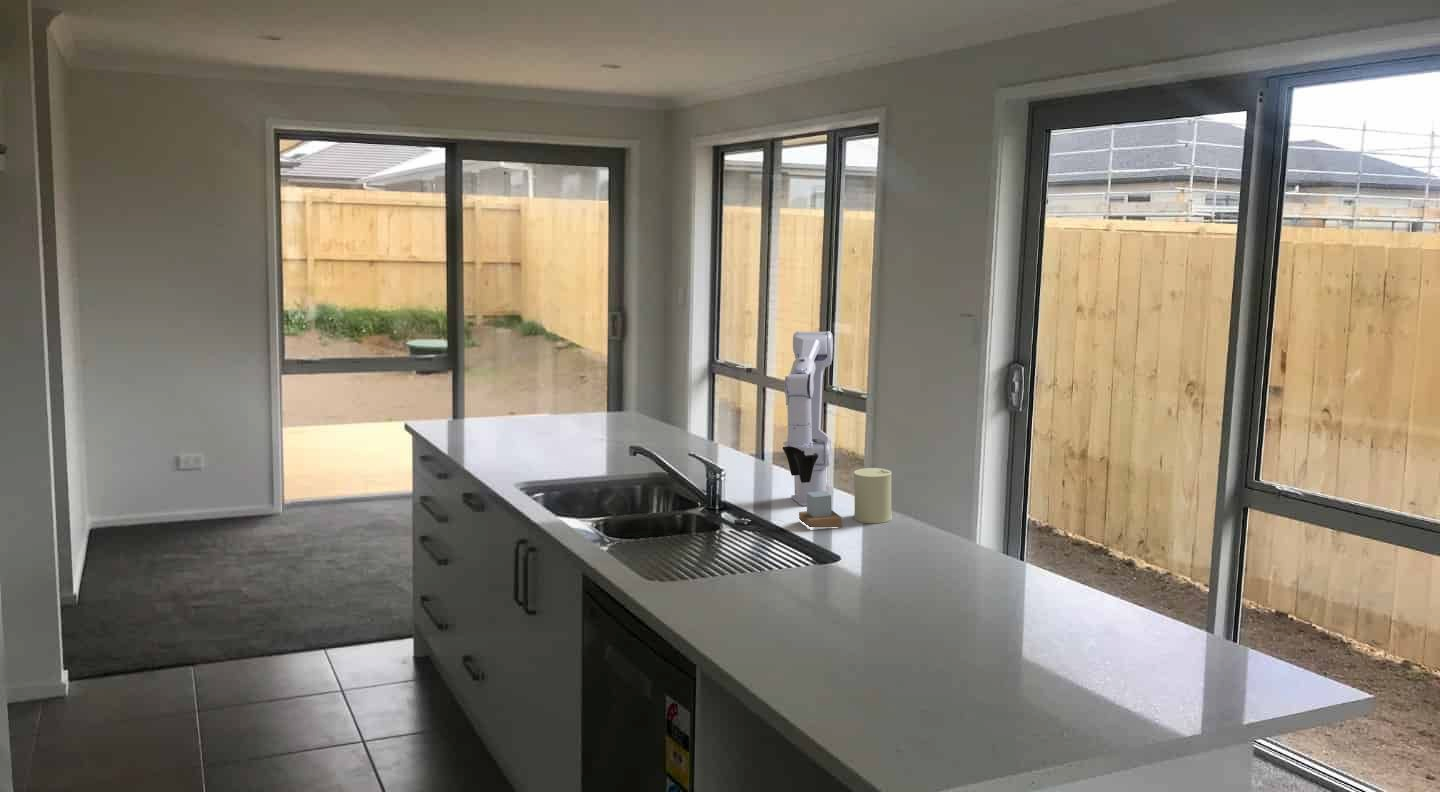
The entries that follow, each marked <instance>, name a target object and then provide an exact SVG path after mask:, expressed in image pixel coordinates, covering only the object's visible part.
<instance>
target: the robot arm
mask: <svg viewBox="0 0 1440 792" xmlns="http://www.w3.org/2000/svg"><path fill="white" fill-rule="evenodd" d="M833 339H834V335H833V333H832V332H831V331H830V330H828V331H799V330H798V331H797V330H796V331H795V332H794V333H793V336H792V351H793V353H794V358H795V359H794V361H793V362H792V366H791V368H790V373H789V374H788V375H787V376H785V377H784V383H783V384H784V385H783V386H784V387H783V388H784V389H783V390H784V396H785V405H786V406H787V407H786V408H787V436H786V439H787V440H786V441H782V444H783V447H782V450H783V452H784V454H785V456H786V458H787V463H788V467H789V471H790V474H791V476H792V477H794V480H793V481H794V494H792V495H791V496H790V497H791V499H793V500H794V501H796V503H798V504H799V505H800V506H802V507H803V506H807V493H809V492H819V491H825V492H826V491H827V489H826V488H827V487H826V486H827V485H826V483H827V482H826V468H828V467H829V466H830V465H831V461H832V446H831V443H832V441H831V438H830V436H829V435H828V434H827V433H825V432H824V431H823V430H822V429H821V428H822V426H821V425H822V403H823V382H824V381H823V380H824V379H823V377H824V373H825V370H826V368H827V367H830V366H831V365H832V361H833V352H834V351H833V350H834V348H833V347H834V340H833Z"/></svg>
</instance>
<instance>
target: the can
mask: <svg viewBox="0 0 1440 792" xmlns="http://www.w3.org/2000/svg"><path fill="white" fill-rule="evenodd" d="M853 478H854V481H853V483H854V487H853V488H854V491H853V492H854V515H853V519H854V520H855V521H856V522H860V523H863V524H883V523H887V522H890V521H892V519H893V514H892V471H891V470H889V469H887V468H883V467H882V468H881V467H880V468H879V467H865V468H859V469H856V470H854V471H853Z"/></svg>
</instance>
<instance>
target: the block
mask: <svg viewBox="0 0 1440 792" xmlns="http://www.w3.org/2000/svg"><path fill="white" fill-rule="evenodd" d="M831 510H832V494H830V493H829V492H825V491H819V492H809V493H807V505H806V511H807V513H808V514H809V515H811V516H812V517H814V518H815V517H824V516H832V515H831Z"/></svg>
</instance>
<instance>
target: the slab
mask: <svg viewBox="0 0 1440 792" xmlns="http://www.w3.org/2000/svg"><path fill="white" fill-rule="evenodd" d="M831 515H832V516H824V517H815V518H814V517H812V516H811V515H809V514H808V513H807V510H806V511H799V512H798V520H799V519H800V520H801V521H802V522H804V523H805V524H806V525H808V526H809V527H842V528H843V517H842V516H841V515H840V514H838V513H836V512H835V511H834V510H833V509H831Z"/></svg>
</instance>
